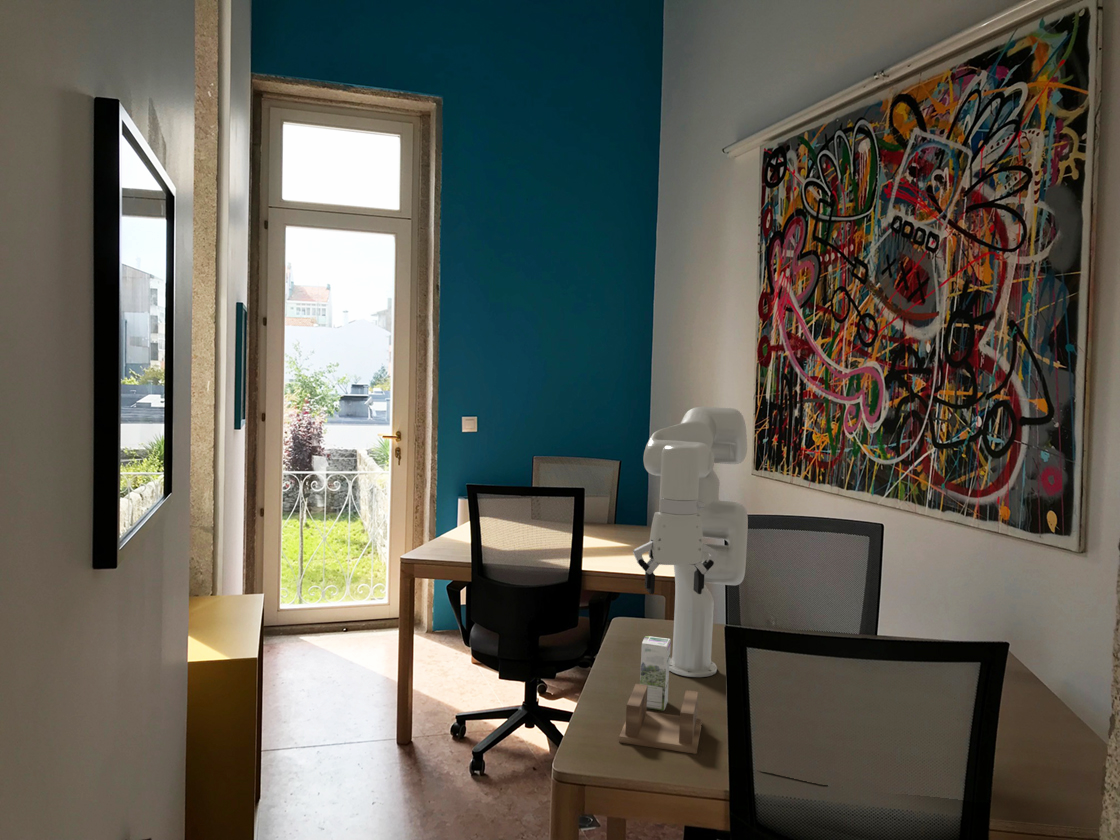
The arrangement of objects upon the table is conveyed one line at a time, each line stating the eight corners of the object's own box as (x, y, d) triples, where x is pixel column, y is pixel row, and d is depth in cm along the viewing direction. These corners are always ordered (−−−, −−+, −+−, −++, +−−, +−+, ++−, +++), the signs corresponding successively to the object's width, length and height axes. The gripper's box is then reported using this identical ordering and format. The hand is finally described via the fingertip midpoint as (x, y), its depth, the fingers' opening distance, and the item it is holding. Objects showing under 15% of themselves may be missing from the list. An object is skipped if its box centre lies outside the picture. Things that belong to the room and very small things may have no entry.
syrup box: (668, 701, 180) (671, 637, 179) (664, 711, 174) (667, 645, 174) (642, 698, 181) (645, 634, 181) (638, 708, 176) (641, 642, 175)
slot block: (630, 714, 172) (631, 681, 172) (701, 724, 168) (703, 690, 168) (619, 742, 158) (620, 706, 158) (696, 753, 155) (698, 716, 155)
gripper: (713, 504, 165) (709, 587, 166) (631, 503, 163) (627, 587, 164) (726, 511, 158) (722, 597, 159) (640, 509, 155) (636, 597, 156)
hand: (674, 592), depth 161 cm, fingers open, 9 cm apart
